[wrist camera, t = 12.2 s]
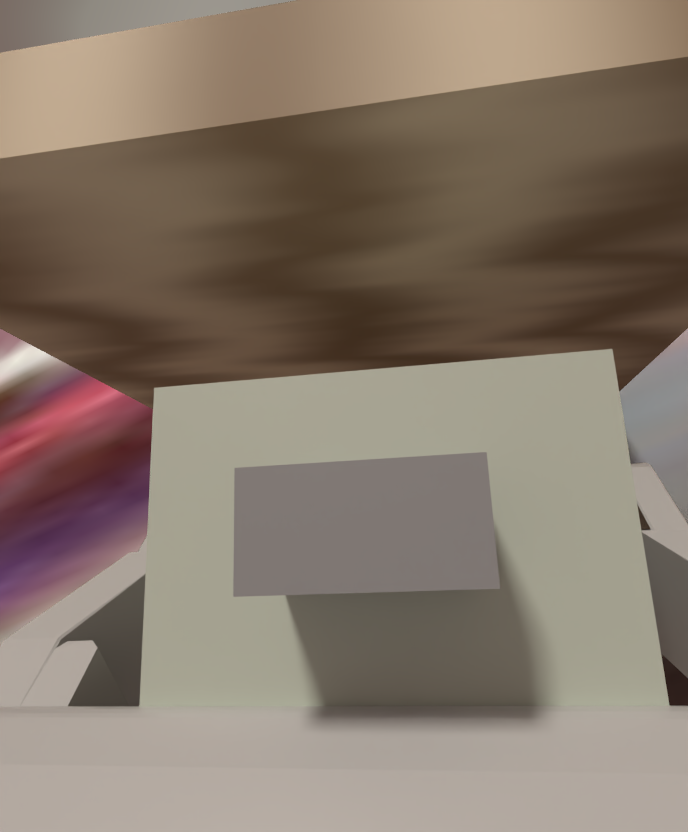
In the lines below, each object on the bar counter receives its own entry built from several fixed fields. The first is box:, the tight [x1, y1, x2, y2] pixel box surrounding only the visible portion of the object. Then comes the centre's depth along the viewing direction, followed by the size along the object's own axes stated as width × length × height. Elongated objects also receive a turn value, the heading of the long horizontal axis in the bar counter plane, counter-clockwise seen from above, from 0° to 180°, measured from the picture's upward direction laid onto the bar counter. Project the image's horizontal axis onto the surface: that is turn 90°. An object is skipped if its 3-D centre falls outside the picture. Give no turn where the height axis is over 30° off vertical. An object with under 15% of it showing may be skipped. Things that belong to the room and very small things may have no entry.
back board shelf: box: [0, 0, 688, 409], centre depth 17 cm, size 18×10×20 cm, turn 92°
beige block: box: [139, 349, 669, 706], centre depth 10 cm, size 5×4×12 cm
